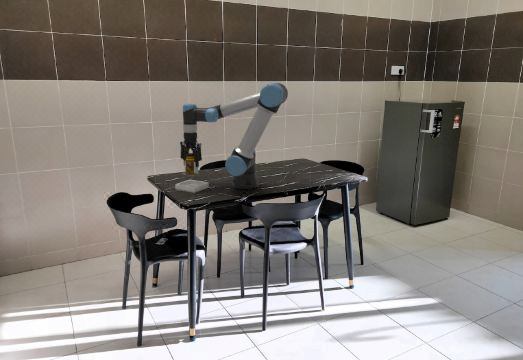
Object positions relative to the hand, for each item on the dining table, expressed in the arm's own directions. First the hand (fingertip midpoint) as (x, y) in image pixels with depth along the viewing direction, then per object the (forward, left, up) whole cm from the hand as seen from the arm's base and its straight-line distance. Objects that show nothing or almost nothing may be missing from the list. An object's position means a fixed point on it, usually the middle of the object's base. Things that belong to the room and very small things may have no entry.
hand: (191, 171), depth 227 cm
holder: (0, 0, -10) cm, 10 cm away
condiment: (+1, 0, -2) cm, 2 cm away
